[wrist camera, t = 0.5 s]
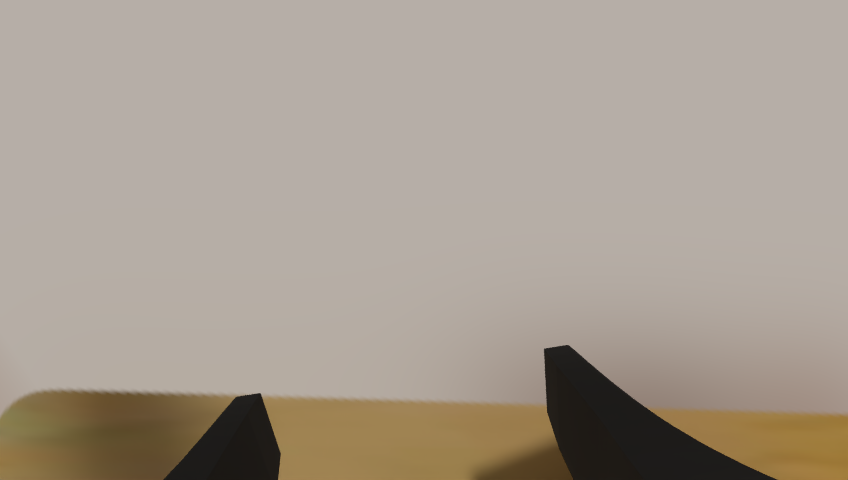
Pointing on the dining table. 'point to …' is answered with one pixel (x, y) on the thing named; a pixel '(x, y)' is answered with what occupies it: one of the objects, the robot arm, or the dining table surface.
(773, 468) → the dining table surface
